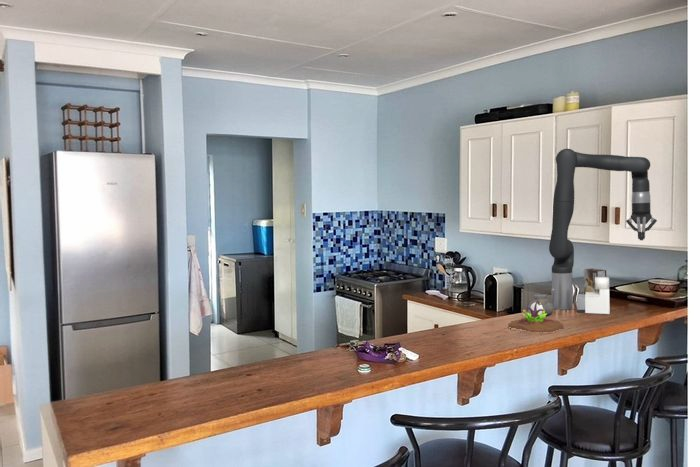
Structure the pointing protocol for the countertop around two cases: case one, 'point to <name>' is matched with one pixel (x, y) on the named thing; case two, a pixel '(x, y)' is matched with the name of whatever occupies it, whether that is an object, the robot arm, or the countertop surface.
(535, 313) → the plant
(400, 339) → the countertop surface
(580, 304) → the duct stub
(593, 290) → the coffee box
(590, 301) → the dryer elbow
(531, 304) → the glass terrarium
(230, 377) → the countertop surface
